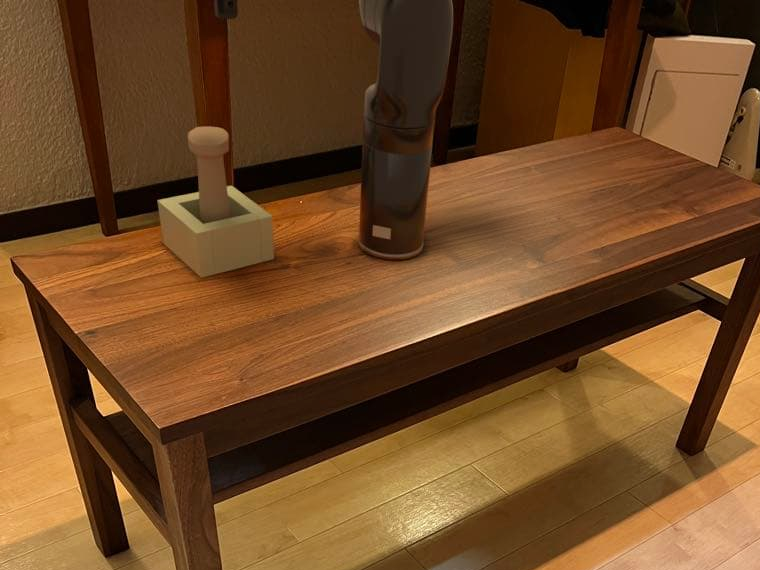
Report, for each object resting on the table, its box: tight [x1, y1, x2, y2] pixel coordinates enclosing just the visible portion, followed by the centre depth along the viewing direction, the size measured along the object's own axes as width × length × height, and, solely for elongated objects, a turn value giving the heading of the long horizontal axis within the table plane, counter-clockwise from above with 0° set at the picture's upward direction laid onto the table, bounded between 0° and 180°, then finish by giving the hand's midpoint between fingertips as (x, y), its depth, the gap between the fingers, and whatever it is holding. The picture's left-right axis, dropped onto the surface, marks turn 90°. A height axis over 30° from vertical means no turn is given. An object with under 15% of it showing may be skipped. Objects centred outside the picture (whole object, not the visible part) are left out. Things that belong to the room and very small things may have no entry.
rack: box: [157, 185, 275, 278], centre depth 107 cm, size 11×11×6 cm
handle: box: [187, 126, 230, 224], centre depth 104 cm, size 5×6×15 cm
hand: (207, 7), depth 83 cm, fingers open, 8 cm apart
